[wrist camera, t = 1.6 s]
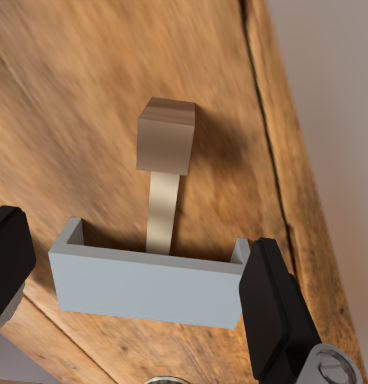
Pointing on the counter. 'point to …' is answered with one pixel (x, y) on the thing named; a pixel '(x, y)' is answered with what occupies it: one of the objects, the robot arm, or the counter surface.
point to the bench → (146, 282)
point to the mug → (12, 306)
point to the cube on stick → (164, 163)
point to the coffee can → (165, 380)
